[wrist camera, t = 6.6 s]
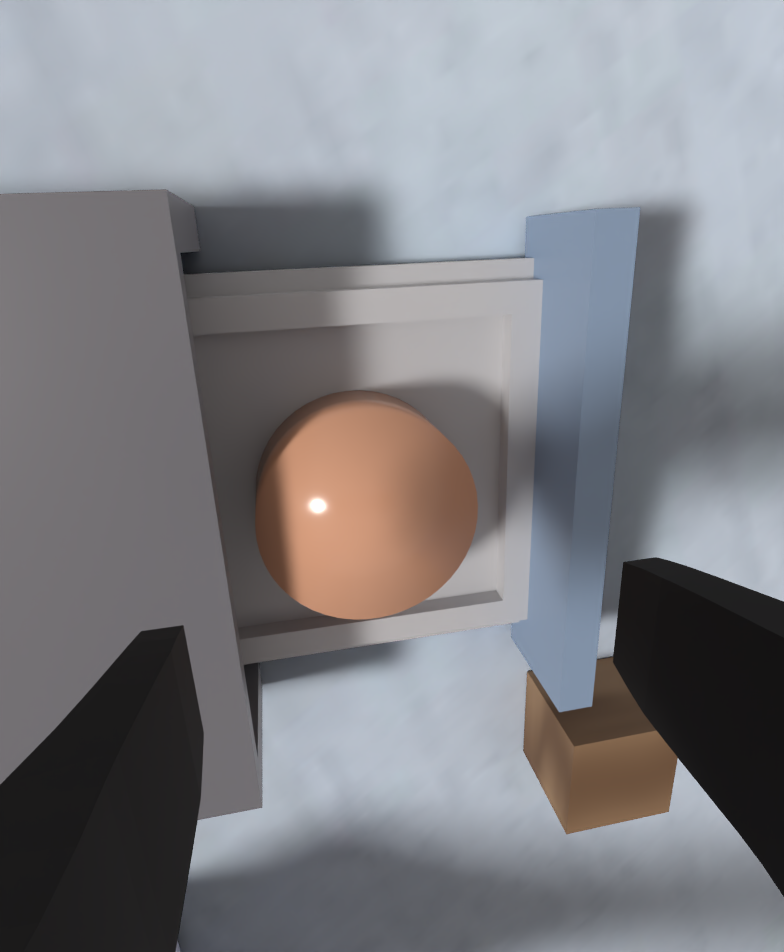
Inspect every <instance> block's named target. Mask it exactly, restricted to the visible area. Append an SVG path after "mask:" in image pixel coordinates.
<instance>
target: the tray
mask: <svg viewBox="0 0 784 952" xmlns="http://www.w3.org/2000/svg"><path fill="white" fill-rule="evenodd" d="M639 217H640V207H635V208H606V209H590V210H582V211H573V212H564V213H555V214H546V215H538V216H529V217H526V243H525V258H508V259H487V260H467V261H446V262H426V263H405V264H385V265H364V266H343V267H323V268H302V269H282V270H261V271H240V272H220V273H199V274H184V280H185V287H186V293H187V300H188V306H189V313H190V319H191V326H192V332H193V339H194V345H195V352H196V359H197V365H198V372H199V378H200V385H201V391H202V398H203V404H204V411H205V417H206V424H207V430H208V437H209V443H210V450H211V456H212V463H213V469H214V476H215V483H216V489H217V496H218V502H219V509H220V515H221V522H222V528H223V535H224V541H225V548H226V554H227V561H228V567H229V574H230V580H231V587H232V593H233V600H234V607H235V613H236V620H237V626H238V633H239V639H240V646H241V652H242V659H243V665H246V664H252V663H258V662H265V661H271V660H278V659H284V658H291V657H297V656H304V655H310V654H317V653H323V652H330V651H336V650H342V649H349V648H355V647H362V646H368V645H375V644H381V643H388V642H394V641H401V640H407V639H414V638H420V637H426V636H433V635H439V634H446V633H452V632H459V631H465V630H472V629H478V628H485V627H491V626H498V625H504V624H510V623H512V631H511V638H512V639H513V641H514V642H515V644H516V646H517V647H518V649H519V650H520V652H521V653H522V655H523V657H524V658H525V660H526V661H527V663H528V664H529V666H530V667H531V669H532V671H533V672H534V674H535V675H536V677H537V678H538V680H539V682H540V683H541V685H542V686H543V688H544V689H545V691H546V692H547V694H548V696H549V697H550V699H551V700H552V702H553V703H554V705H555V707H556V708H557V710H558V711H559V712H564V711H569V710H575V709H580V708H586V707H591V706H592V702H593V692H594V681H595V671H596V661H597V650H598V640H599V630H600V619H601V609H602V599H603V588H604V578H605V568H606V557H607V547H608V537H609V526H610V516H611V506H612V496H613V485H614V475H615V465H616V454H617V444H618V434H619V423H620V413H621V403H622V392H623V382H624V372H625V361H626V351H627V341H628V330H629V320H630V310H631V300H632V289H633V279H634V269H635V258H636V248H637V238H638V227H639ZM354 390H364V391H374V392H379V393H384V394H387V395H390V396H393V397H396V398H398V399H400V400H402V401H404V402H406V403H408V404H410V405H411V406H412V407H414V408H415V409H417V410H418V411H419V412H420V413H421V414H423V415H424V416H425V417H426V418H427V419H428V420H429V421H430V422H431V423H432V424H433V425H434V426H435V427H436V428H437V429H438V430H439V431H440V432H441V433H442V434H443V435H444V436H445V437H446V438H447V439H448V440H449V441H450V442H451V443H452V444H453V445H454V446H455V447H456V449H457V450H458V451H459V452H460V454H461V455H462V456H463V458H464V460H465V462H466V463H467V465H468V467H469V469H470V472H471V474H472V477H473V479H474V483H475V487H476V491H477V500H478V518H477V524H476V530H475V534H474V537H473V540H472V543H471V546H470V548H469V550H468V552H467V555H466V557H465V558H464V560H463V561H462V563H461V565H460V566H459V568H458V569H457V570H456V572H455V573H454V574H453V576H452V577H451V578H450V579H449V580H448V581H447V582H446V583H445V584H444V585H443V586H442V587H441V588H440V589H439V590H438V591H436V592H435V593H434V594H433V595H431V596H430V597H428V598H427V599H425V600H424V601H422V602H421V603H419V604H417V605H415V606H413V607H411V608H409V609H407V610H404V611H401V612H399V613H396V614H393V615H389V616H385V617H381V618H373V619H343V618H337V617H332V616H328V615H324V614H322V613H319V612H316V611H313V610H311V609H309V608H308V607H306V606H304V605H302V604H300V603H299V602H297V601H296V600H294V599H293V598H292V597H290V596H289V595H288V594H287V593H286V592H285V591H284V590H283V589H282V588H280V586H279V585H278V584H277V583H276V582H275V580H274V579H273V578H272V576H271V575H270V573H269V571H268V570H267V568H266V566H265V564H264V562H263V560H262V557H261V555H260V552H259V548H258V544H257V540H256V530H255V503H256V476H257V471H258V466H259V462H260V459H261V456H262V453H263V451H264V449H265V447H266V445H267V443H268V441H269V439H270V438H271V436H272V435H273V434H274V432H275V431H276V429H277V428H278V427H279V426H280V425H281V424H282V423H283V422H284V420H285V419H287V418H288V417H289V416H290V415H291V414H293V413H294V412H295V411H296V410H298V409H299V408H301V407H302V406H304V405H306V404H307V403H309V402H311V401H313V400H316V399H318V398H320V397H323V396H326V395H329V394H332V393H337V392H343V391H354Z"/></svg>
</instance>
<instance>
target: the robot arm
mask: <svg viewBox="0 0 784 952" xmlns="http://www.w3.org/2000/svg"><path fill="white" fill-rule="evenodd" d="M613 664H614V665H615V667H616V669H617V670H618V672H619V674H620V676H621V677H622V679H623V681H624V683H625V684H626V686H627V688H628V690H629V691H630V693H631V694H632V696H633V698H634V699H635V701H636V702H637V704H638V706H639V707H640V709H641V710H642V712H643V714H644V715H645V716H646V718H647V719H648V720H649V721H650V723H651V724H652V725H653V727H654V728H655V729H656V731H657V732H658V733H659V734H660V736H661V737H662V738H663V739H664V741H665V742H666V743H667V744H668V746H669V747H670V748H671V750H672V751H673V752H674V753H675V755H676V756H677V757H678V758H679V760H680V761H681V762H682V763H683V765H684V766H685V767H686V768H687V770H688V771H689V772H690V773H691V775H692V776H693V777H694V778H695V779H696V781H697V782H698V783H699V784H700V786H701V787H702V788H703V789H704V791H705V792H706V793H707V794H708V796H709V797H710V798H711V799H712V801H713V802H714V803H715V804H716V806H717V807H718V808H719V809H720V811H721V812H722V813H723V814H724V816H725V817H726V818H727V819H728V820H729V822H730V823H731V824H732V825H733V827H734V828H735V829H736V830H737V832H738V833H739V834H740V835H741V837H742V838H743V839H744V841H745V842H746V843H747V845H748V846H749V847H750V849H751V850H752V851H753V853H754V854H755V856H756V857H757V858H758V860H759V861H760V862H761V864H762V865H763V866H764V868H765V869H766V871H767V872H768V874H769V875H770V877H771V878H772V880H773V881H774V883H775V884H776V886H777V887H778V889H779V890H780V892H781V893H782V895H783V896H784V602H783V601H780V600H778V599H775V598H772V597H770V596H767V595H764V594H761V593H759V592H756V591H753V590H751V589H748V588H745V587H743V586H740V585H737V584H735V583H732V582H729V581H727V580H724V579H721V578H718V577H716V576H713V575H710V574H707V573H705V572H702V571H699V570H696V569H693V568H690V567H687V566H684V565H681V564H678V563H675V562H672V561H668V560H664V559H660V558H649V559H642V560H635V561H628V562H623V570H622V580H621V589H620V599H619V608H618V618H617V627H616V637H615V646H614V656H613ZM203 744H204V731H203V726H202V720H201V715H200V710H199V704H198V699H197V694H196V689H195V683H194V678H193V673H192V667H191V662H190V657H189V652H188V646H187V641H186V636H185V630H184V625H181V626H174V627H167V628H160V629H153V630H146V631H141V632H140V633H139V634H138V635H137V636H136V637H135V638H134V640H133V641H132V642H131V643H130V644H129V645H128V646H127V647H126V649H125V650H124V651H123V652H122V653H121V654H120V655H119V657H118V658H117V659H116V660H115V661H114V662H113V664H112V665H111V666H110V667H109V668H108V669H107V671H106V672H105V673H104V674H103V675H102V676H101V678H100V679H99V680H98V681H97V682H96V683H95V684H94V686H93V687H92V688H91V689H90V690H89V691H88V693H87V694H86V695H85V696H84V697H83V698H82V699H81V700H80V701H79V703H78V704H77V705H76V706H75V707H74V708H73V709H72V710H71V711H70V713H69V714H68V715H67V716H66V717H65V718H64V719H63V720H62V721H61V723H60V724H59V725H58V726H57V727H56V728H55V729H54V730H53V731H52V732H51V733H50V734H49V735H48V736H47V737H46V738H45V740H44V741H43V742H42V743H41V744H40V745H39V746H38V747H37V748H36V749H35V750H34V751H33V752H32V753H31V754H30V755H29V756H28V757H27V758H26V759H25V760H24V761H23V762H22V763H21V764H20V765H19V766H18V767H17V768H16V769H15V770H14V771H13V772H12V773H11V774H10V775H9V776H8V777H7V778H6V779H5V780H4V781H3V782H2V783H1V784H0V952H180V948H179V944H178V934H179V928H180V922H181V916H182V910H183V904H184V898H185V892H186V886H187V880H188V874H189V868H190V863H191V857H192V850H193V844H194V838H195V832H196V826H197V820H198V813H199V807H200V801H201V786H202V768H203Z"/></svg>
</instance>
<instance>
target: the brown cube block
mask: <svg viewBox="0 0 784 952" xmlns="http://www.w3.org/2000/svg"><path fill="white" fill-rule="evenodd" d="M523 751H524V753H525V755H526V757H527V759H528V761H529V763H530V765H531V767H532V769H533V771H534V772H535V774H536V776H537V778H538V780H539V782H540V784H541V786H542V788H543V790H544V792H545V794H546V796H547V797H548V799H549V801H550V803H551V805H552V807H553V809H554V811H555V813H556V815H557V817H558V819H559V821H560V823H561V824H562V826H563V828H564V830H565V832H566V834H569V833H574V832H579V831H583V830H588V829H592V828H597V827H601V826H606V825H610V824H615V823H620V822H624V821H629V820H633V819H638V818H642V817H647V816H651V815H656V814H661V813H665V812H669V806H670V800H671V794H672V788H673V782H674V776H675V770H676V764H677V758H678V757H677V756H676V755H675V753H674V752H673V751H672V750H671V748H670V747H669V746H668V744H667V743H666V742H665V741H664V739H663V738H662V737H661V736H660V734H659V733H658V732H657V731H656V729H655V728H654V727H653V725H652V724H651V723H650V721H649V720H648V719H647V718H646V716H645V715H644V714H643V712H642V710H641V709H640V707H639V706H638V704H637V702H636V701H635V699H634V698H633V696H632V694H631V693H630V691H629V690H628V688H627V686H626V684H625V683H624V681H623V679H622V677H621V676H620V674H619V672H618V670H617V669H616V667H615V665H614V664H613V657H611V658H605V659H599V660H597V661H596V671H595V681H594V692H593V702H592V706H591V707H586V708H580V709H575V710H569V711H564V712H559V711H558V710H557V708H556V707H555V705H554V703H553V702H552V700H551V699H550V697H549V696H548V694H547V692H546V691H545V689H544V688H543V686H542V685H541V683H540V682H539V680H538V678H537V677H536V675H535V674H534V672H533V671H528V672H527V687H526V708H525V729H524V749H523Z"/></svg>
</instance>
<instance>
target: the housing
mask: <svg viewBox="0 0 784 952" xmlns="http://www.w3.org/2000/svg"><path fill="white" fill-rule="evenodd" d="M198 251H200V245H199V237H198V230H197V223H196V216H195V209H194V206H193V205H191V204H189V203H188V202H186V201H184V200H183V199H181V198H179V197H178V196H176V195H174V194H173V193H171V192H169V191H168V190H132V191H94V192H55V193H17V194H0V784H1V783H2V782H3V781H4V780H5V779H6V778H7V777H8V776H9V775H10V774H11V773H12V772H13V771H14V770H15V769H16V768H17V767H18V766H19V765H20V764H21V763H22V762H23V761H24V760H25V759H26V758H27V757H28V756H29V755H30V754H31V753H32V752H33V751H34V750H35V749H36V748H37V747H38V746H39V745H40V744H41V743H42V742H43V741H44V740H45V738H46V737H47V736H48V735H49V734H50V733H51V732H52V731H53V730H54V729H55V728H56V727H57V726H58V725H59V724H60V723H61V721H62V720H63V719H64V718H65V717H66V716H67V715H68V714H69V713H70V711H71V710H72V709H73V708H74V707H75V706H76V705H77V704H78V703H79V701H80V700H81V699H82V698H83V697H84V696H85V695H86V694H87V693H88V691H89V690H90V689H91V688H92V687H93V686H94V684H95V683H96V682H97V681H98V680H99V679H100V678H101V676H102V675H103V674H104V673H105V672H106V671H107V669H108V668H109V667H110V666H111V665H112V664H113V662H114V661H115V660H116V659H117V658H118V657H119V655H120V654H121V653H122V652H123V651H124V650H125V649H126V647H127V646H128V645H129V644H130V643H131V642H132V641H133V640H134V638H135V637H136V636H137V635H138V634H139V633H140V632H141V631H146V630H153V629H160V628H167V627H174V626H181V625H184V630H185V636H186V641H187V646H188V652H189V657H190V662H191V667H192V673H193V678H194V683H195V689H196V694H197V699H198V704H199V710H200V715H201V720H202V726H203V731H204V744H203V768H202V786H201V801H200V807H199V813H198V820H200V819H206V818H211V817H216V816H221V815H226V814H231V813H237V812H242V811H247V810H252V809H257V808H262V681H261V674H260V667H259V662H258V663H252V664H246V665H243V659H242V652H241V646H240V639H239V633H238V626H237V620H236V613H235V607H234V600H233V593H232V587H231V580H230V574H229V567H228V561H227V554H226V548H225V541H224V535H223V528H222V522H221V515H220V509H219V502H218V496H217V489H216V483H215V476H214V469H213V463H212V456H211V450H210V443H209V437H208V430H207V424H206V417H205V411H204V404H203V398H202V391H201V385H200V378H199V372H198V365H197V359H196V352H195V345H194V339H193V332H192V326H191V319H190V313H189V306H188V300H187V293H186V287H185V280H184V274H183V267H182V261H181V254H180V253H184V252H198Z"/></svg>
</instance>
